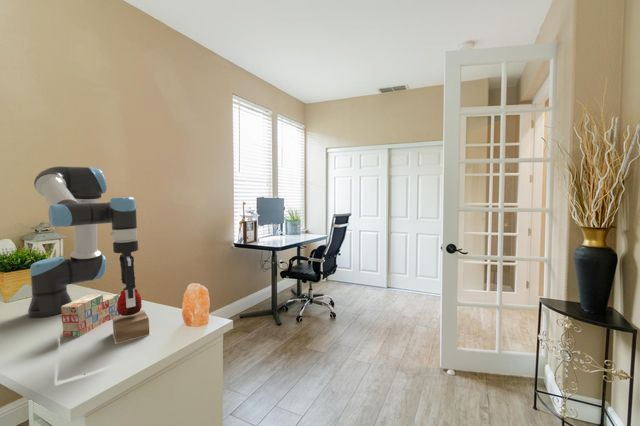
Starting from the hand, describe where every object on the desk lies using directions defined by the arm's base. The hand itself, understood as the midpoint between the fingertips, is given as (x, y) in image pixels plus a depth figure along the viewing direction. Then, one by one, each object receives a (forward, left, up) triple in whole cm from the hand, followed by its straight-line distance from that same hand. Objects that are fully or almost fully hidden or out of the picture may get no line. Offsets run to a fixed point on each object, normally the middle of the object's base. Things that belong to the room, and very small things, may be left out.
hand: (129, 303), depth 112 cm
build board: (0, -1, -12) cm, 12 cm away
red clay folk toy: (0, 0, -4) cm, 4 cm away
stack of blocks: (-20, -10, -12) cm, 25 cm away
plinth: (0, 0, -11) cm, 11 cm away
